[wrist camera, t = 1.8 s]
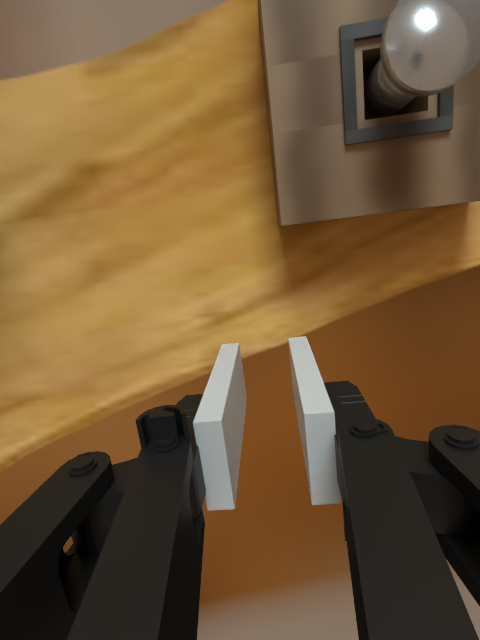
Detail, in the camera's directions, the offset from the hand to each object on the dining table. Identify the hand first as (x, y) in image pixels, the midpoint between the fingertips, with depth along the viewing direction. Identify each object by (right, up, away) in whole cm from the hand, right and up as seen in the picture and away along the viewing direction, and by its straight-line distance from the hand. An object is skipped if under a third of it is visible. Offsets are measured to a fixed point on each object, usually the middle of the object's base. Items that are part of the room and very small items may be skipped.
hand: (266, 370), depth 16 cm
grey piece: (+11, +22, +14) cm, 28 cm away
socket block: (+12, +23, +21) cm, 33 cm away
